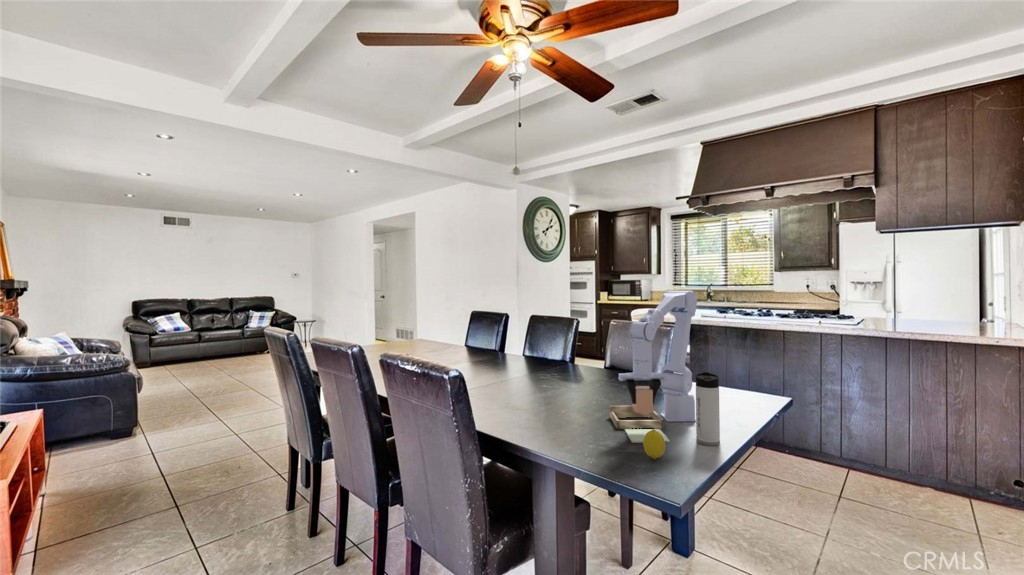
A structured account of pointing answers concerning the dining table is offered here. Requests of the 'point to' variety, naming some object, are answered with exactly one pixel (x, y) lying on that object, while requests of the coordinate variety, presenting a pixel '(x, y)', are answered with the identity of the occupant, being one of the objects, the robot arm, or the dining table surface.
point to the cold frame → (629, 424)
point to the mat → (641, 434)
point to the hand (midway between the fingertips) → (642, 403)
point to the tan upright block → (643, 399)
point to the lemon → (654, 444)
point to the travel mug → (707, 409)
